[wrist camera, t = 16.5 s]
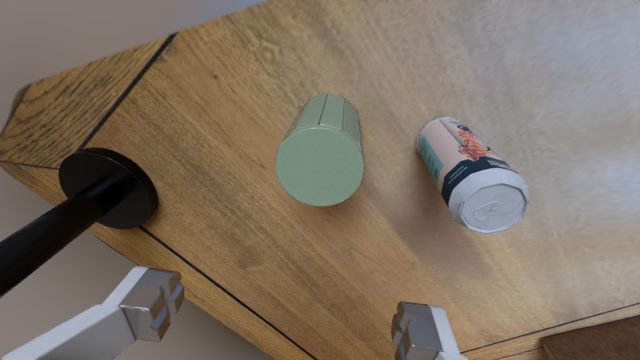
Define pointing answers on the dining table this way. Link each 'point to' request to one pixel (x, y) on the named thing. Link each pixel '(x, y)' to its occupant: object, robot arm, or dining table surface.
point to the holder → (80, 210)
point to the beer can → (472, 177)
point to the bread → (597, 342)
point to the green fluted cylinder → (322, 152)
